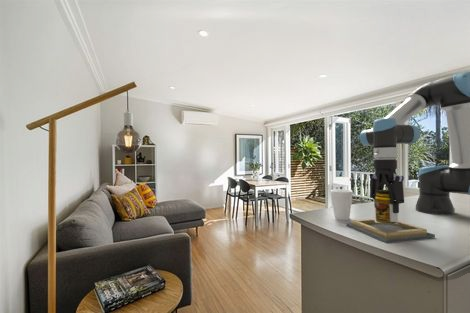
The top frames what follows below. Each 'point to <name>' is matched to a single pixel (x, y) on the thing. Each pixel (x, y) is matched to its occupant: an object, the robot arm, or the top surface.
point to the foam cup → (342, 203)
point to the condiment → (382, 207)
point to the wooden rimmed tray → (390, 230)
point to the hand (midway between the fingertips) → (386, 219)
